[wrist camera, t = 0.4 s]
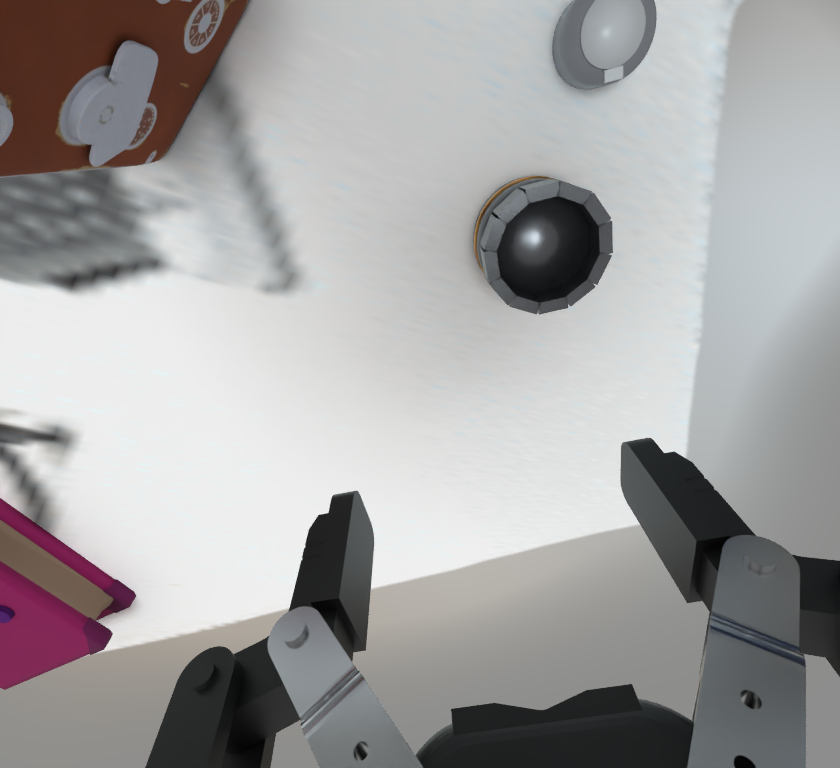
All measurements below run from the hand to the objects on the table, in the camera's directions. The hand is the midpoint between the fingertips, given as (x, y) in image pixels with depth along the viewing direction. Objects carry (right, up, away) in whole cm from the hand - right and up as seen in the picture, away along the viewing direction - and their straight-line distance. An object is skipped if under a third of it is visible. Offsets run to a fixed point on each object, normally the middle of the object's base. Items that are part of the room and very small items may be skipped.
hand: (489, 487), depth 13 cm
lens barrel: (+7, +16, +23) cm, 29 cm away
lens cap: (+10, +27, +17) cm, 34 cm away
